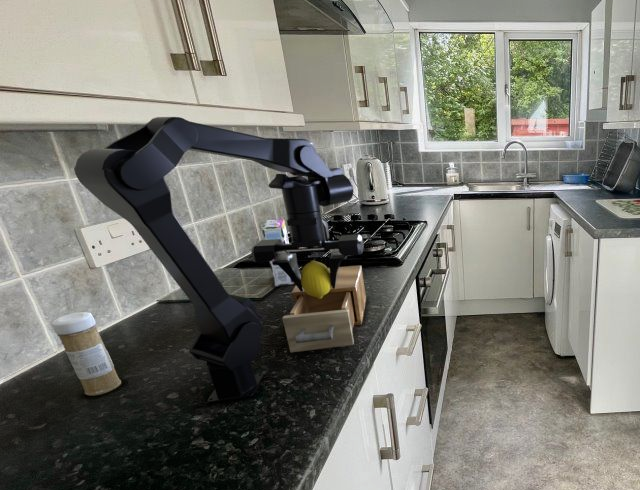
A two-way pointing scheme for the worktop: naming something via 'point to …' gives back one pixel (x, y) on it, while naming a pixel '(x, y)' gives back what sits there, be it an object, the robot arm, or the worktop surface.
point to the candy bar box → (278, 231)
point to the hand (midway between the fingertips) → (318, 289)
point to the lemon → (316, 279)
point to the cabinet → (346, 289)
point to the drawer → (321, 322)
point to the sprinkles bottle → (87, 352)
